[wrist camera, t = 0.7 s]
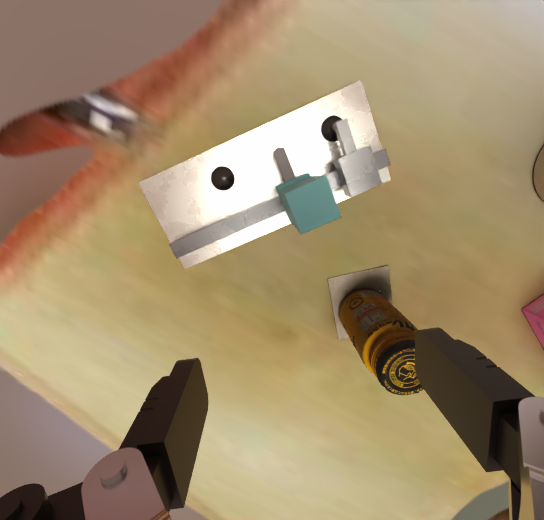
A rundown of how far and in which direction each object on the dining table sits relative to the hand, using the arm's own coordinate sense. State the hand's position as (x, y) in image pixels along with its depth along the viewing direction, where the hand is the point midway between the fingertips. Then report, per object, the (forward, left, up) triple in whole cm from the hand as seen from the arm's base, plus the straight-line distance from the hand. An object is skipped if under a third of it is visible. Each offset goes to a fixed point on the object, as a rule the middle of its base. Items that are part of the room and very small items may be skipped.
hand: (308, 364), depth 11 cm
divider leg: (-4, -5, -21) cm, 22 cm away
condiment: (-7, +12, -24) cm, 27 cm away
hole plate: (-2, -6, -23) cm, 24 cm away
